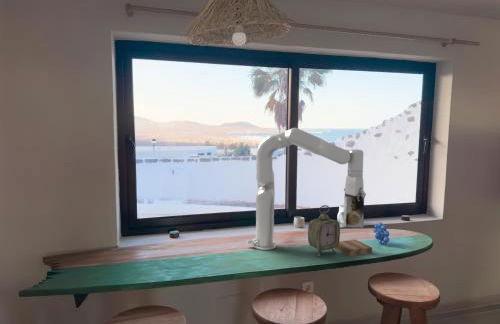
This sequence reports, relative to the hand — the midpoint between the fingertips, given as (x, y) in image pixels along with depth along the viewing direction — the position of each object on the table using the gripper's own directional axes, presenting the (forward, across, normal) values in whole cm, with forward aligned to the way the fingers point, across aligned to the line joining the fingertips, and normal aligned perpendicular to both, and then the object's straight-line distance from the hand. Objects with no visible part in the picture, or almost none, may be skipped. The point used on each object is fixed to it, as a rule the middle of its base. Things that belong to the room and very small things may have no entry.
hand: (353, 206), depth 177 cm
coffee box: (+10, 0, 0) cm, 10 cm away
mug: (+23, -43, +26) cm, 55 cm away
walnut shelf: (+23, 0, 0) cm, 23 cm away
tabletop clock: (+23, 0, -18) cm, 30 cm away
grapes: (+23, -4, +21) cm, 32 cm away
